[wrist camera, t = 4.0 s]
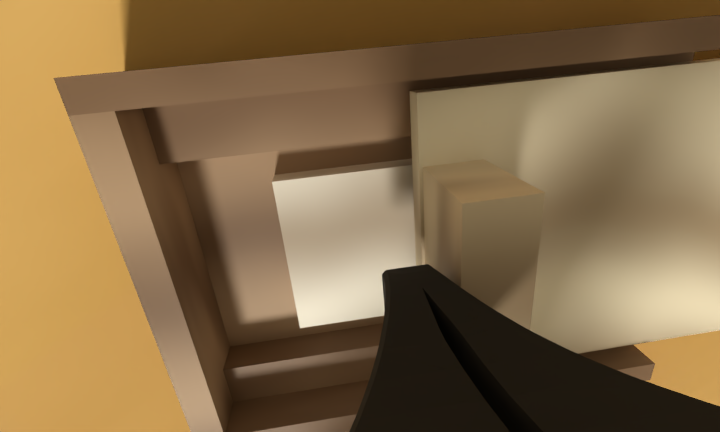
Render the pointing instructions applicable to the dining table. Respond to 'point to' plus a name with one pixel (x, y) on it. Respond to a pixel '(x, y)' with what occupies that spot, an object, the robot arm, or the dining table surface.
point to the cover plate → (577, 200)
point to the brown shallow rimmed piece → (297, 205)
